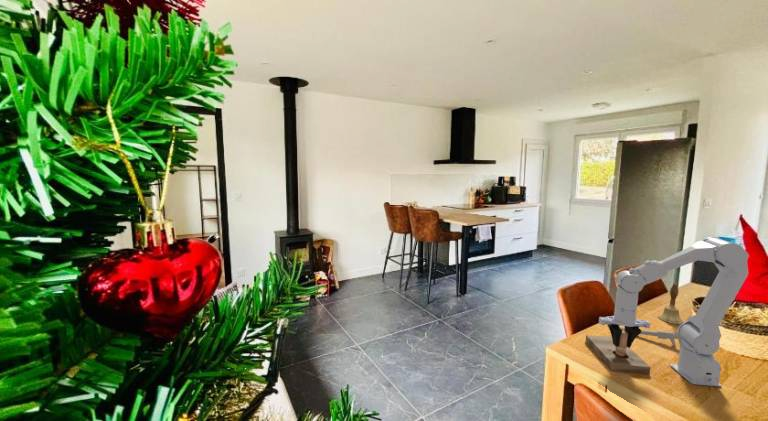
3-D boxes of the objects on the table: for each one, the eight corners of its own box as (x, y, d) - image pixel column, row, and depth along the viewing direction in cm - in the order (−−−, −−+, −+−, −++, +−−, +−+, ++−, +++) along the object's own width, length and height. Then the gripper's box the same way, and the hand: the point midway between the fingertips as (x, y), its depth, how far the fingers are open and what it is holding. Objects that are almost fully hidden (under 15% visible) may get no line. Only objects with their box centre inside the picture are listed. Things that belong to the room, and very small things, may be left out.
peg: (627, 357, 106) (630, 335, 105) (617, 356, 106) (619, 333, 105) (622, 352, 109) (625, 330, 108) (612, 351, 109) (615, 329, 108)
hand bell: (655, 313, 143) (660, 279, 141) (680, 318, 139) (685, 283, 136) (660, 321, 136) (664, 285, 134) (686, 326, 132) (691, 289, 129)
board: (649, 374, 101) (650, 367, 101) (611, 370, 103) (612, 363, 102) (617, 343, 119) (617, 337, 118) (585, 341, 120) (586, 334, 120)
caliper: (681, 347, 117) (684, 331, 116) (681, 348, 116) (684, 332, 115) (613, 329, 130) (615, 314, 129) (613, 330, 129) (615, 315, 128)
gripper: (642, 303, 108) (637, 341, 110) (595, 301, 110) (592, 337, 112) (656, 313, 101) (651, 352, 103) (606, 310, 103) (602, 348, 105)
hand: (621, 345), depth 107 cm, fingers closed on peg, 3 cm apart
